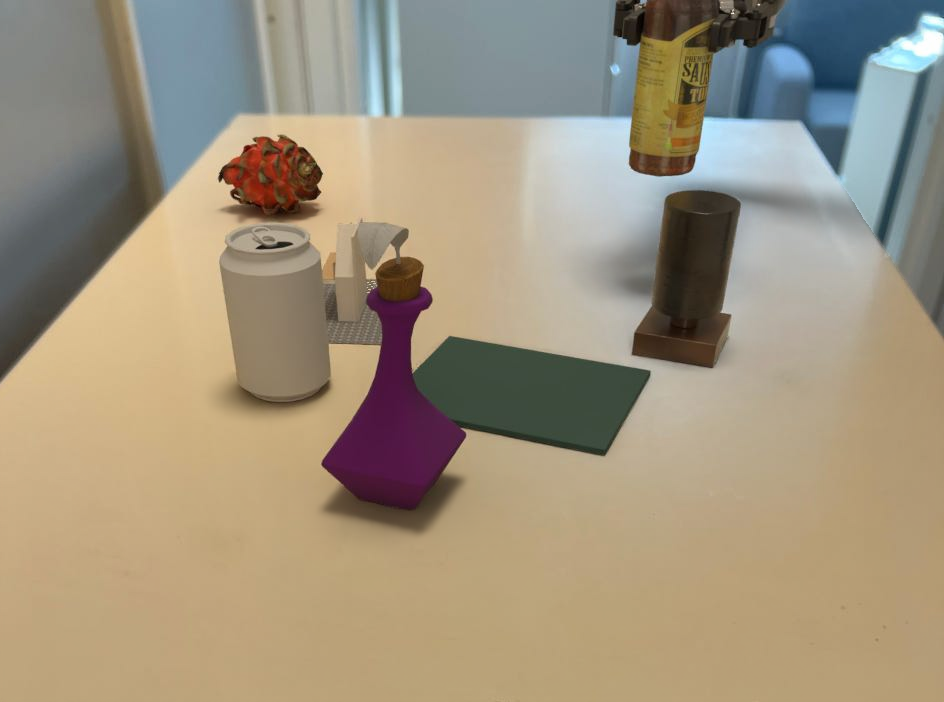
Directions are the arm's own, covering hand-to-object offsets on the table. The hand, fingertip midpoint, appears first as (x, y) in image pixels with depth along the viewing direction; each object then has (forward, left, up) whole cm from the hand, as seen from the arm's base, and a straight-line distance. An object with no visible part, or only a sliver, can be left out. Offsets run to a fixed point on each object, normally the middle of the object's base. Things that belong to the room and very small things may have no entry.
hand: (672, 34), depth 81 cm
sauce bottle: (0, -2, -11) cm, 11 cm away
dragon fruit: (+45, -8, -22) cm, 51 cm away
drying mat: (+4, +24, -22) cm, 32 cm away
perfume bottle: (+7, +41, -22) cm, 47 cm away
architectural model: (+24, +14, -22) cm, 35 cm away
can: (+22, +30, -22) cm, 43 cm away
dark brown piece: (-6, +10, -22) cm, 24 cm away
